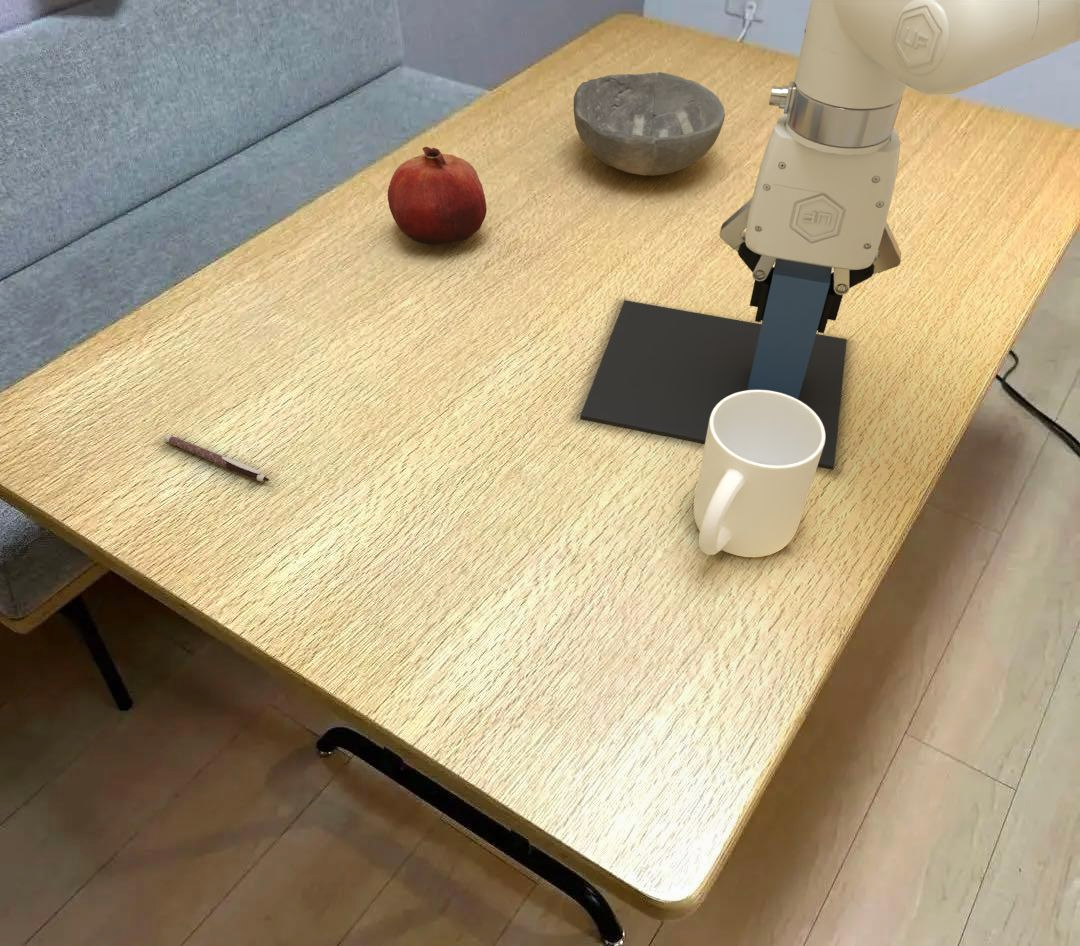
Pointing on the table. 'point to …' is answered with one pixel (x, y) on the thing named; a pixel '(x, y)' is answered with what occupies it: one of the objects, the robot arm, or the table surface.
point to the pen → (218, 459)
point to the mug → (756, 472)
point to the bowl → (647, 121)
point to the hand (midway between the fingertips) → (791, 316)
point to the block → (789, 326)
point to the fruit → (437, 198)
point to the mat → (697, 373)
